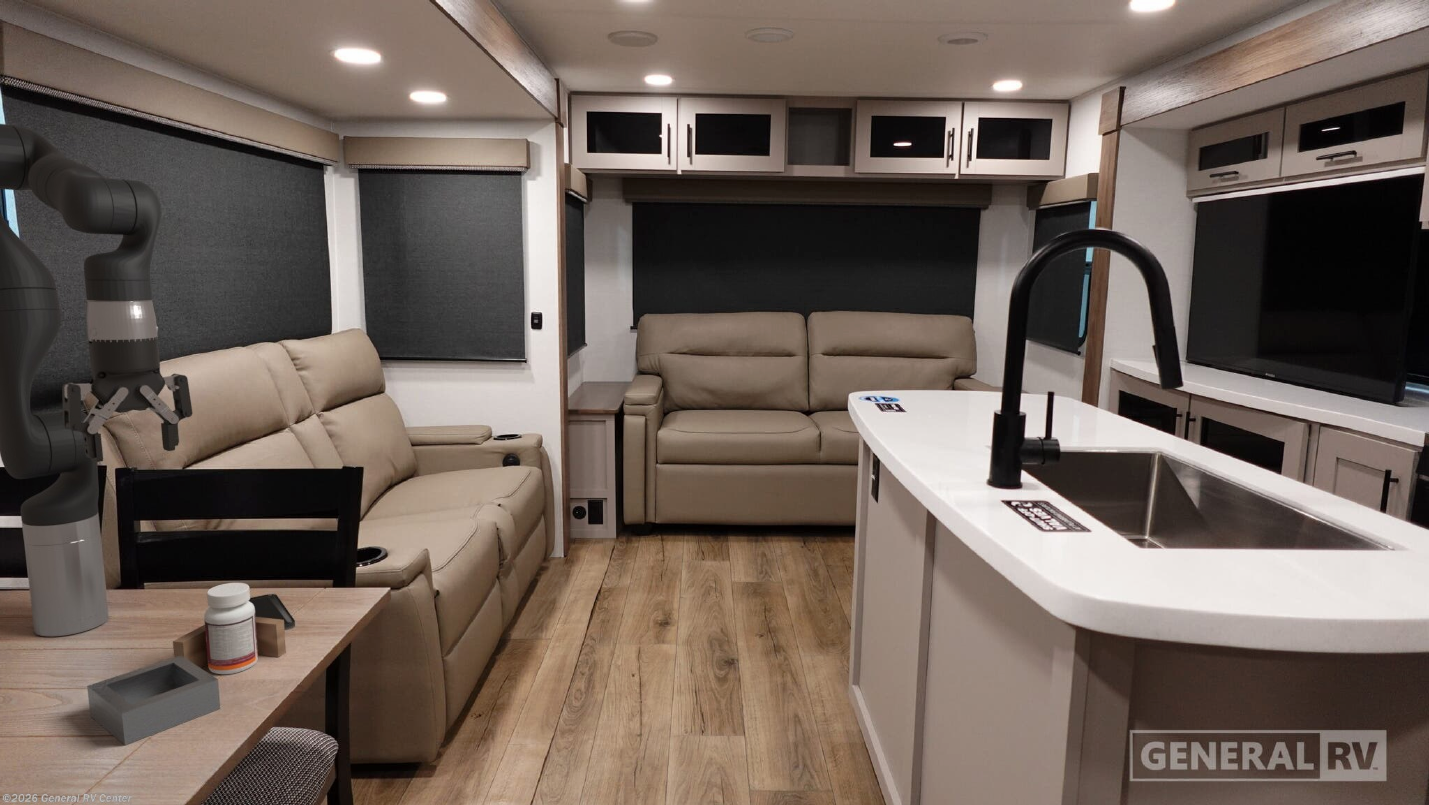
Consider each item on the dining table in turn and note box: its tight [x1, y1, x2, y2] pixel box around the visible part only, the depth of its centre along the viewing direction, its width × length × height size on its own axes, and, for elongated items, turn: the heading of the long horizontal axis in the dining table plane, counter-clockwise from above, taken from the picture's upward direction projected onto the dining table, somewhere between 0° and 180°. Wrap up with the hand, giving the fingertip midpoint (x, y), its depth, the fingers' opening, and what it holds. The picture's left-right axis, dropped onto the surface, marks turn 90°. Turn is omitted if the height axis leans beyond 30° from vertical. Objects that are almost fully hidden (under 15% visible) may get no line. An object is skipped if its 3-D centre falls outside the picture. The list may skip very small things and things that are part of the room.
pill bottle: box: [203, 582, 259, 675], centre depth 118 cm, size 6×6×11 cm
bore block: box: [86, 655, 221, 746], centre depth 106 cm, size 11×11×4 cm
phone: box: [249, 593, 296, 631], centre depth 135 cm, size 8×1×15 cm
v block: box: [172, 617, 287, 669], centre depth 122 cm, size 8×14×5 cm, turn 124°
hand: (134, 455), depth 114 cm, fingers open, 8 cm apart
